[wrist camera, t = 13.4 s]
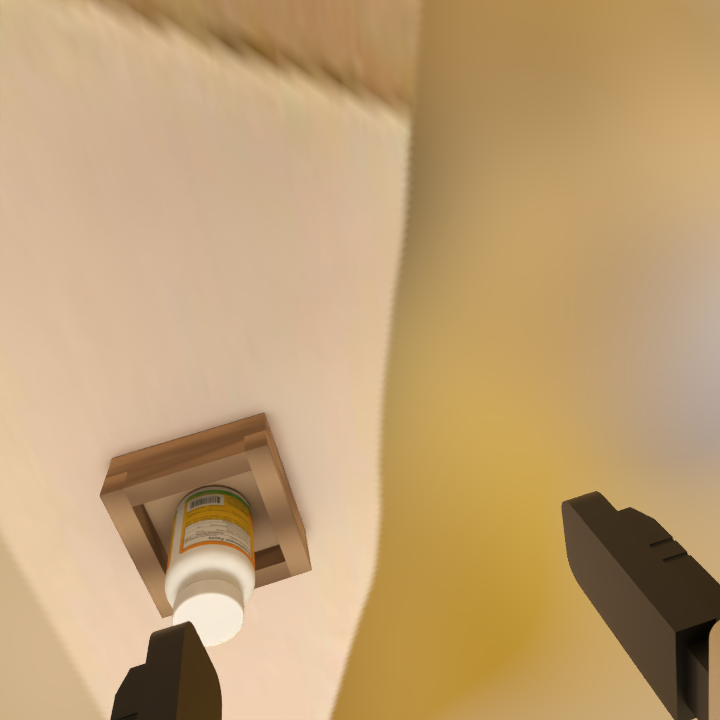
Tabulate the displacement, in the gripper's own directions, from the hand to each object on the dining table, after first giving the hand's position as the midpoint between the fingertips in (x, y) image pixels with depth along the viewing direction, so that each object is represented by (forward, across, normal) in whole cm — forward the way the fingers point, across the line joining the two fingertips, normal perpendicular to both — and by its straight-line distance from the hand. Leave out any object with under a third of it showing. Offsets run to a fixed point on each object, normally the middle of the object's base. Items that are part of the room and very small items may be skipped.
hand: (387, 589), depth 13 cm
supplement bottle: (+28, +10, +16) cm, 34 cm away
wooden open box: (+30, +10, +16) cm, 36 cm away
